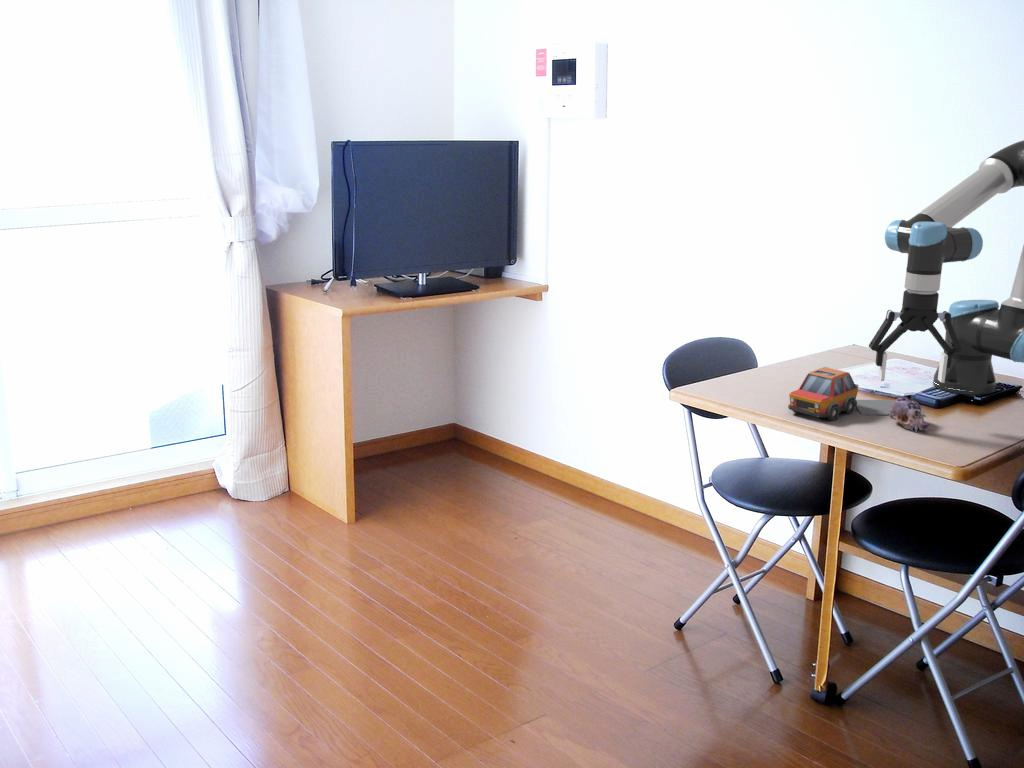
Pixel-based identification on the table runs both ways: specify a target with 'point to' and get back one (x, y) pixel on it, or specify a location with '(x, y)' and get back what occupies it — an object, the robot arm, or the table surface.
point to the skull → (908, 414)
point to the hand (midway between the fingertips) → (911, 380)
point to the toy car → (825, 394)
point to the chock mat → (875, 407)
